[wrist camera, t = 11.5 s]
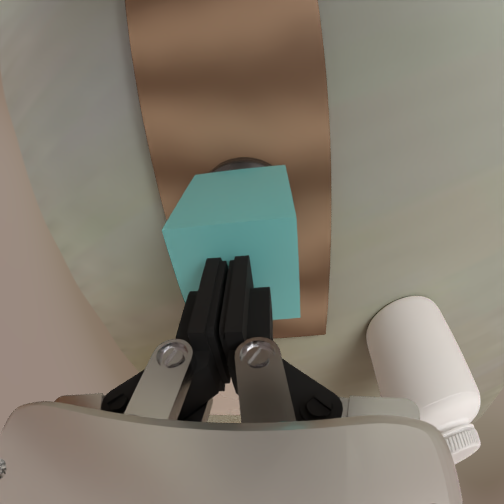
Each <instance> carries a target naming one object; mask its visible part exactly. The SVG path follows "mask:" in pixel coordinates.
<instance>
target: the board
mask: <svg viewBox="0 0 504 504" xmlns="http://www.w3.org/2000/svg"><path fill="white" fill-rule="evenodd" d="M125 6H126V15H127V24H128V32H129V39H130V46H131V53H132V60H133V66H134V73H135V79H136V85H137V90H138V96H139V101H140V107H141V112H142V117H143V122H144V127H145V132H146V137H147V141H148V146H149V151H150V155H151V160H152V164H153V168H154V173H155V177H156V181H157V185H158V189H159V193H160V197H161V201H162V205H163V209H164V213H165V217H166V220H168V219H169V217H170V215H171V213H172V212H173V210H174V208H175V207H176V205H177V203H178V202H179V200H180V198H181V197H182V195H183V193H184V192H185V190H186V189H187V187H188V185H189V184H190V182H191V181H192V179H193V177H194V176H195V175H198V174H205V173H209V172H210V171H211V170H212V169H213V168H214V167H216V166H217V165H219V164H220V163H222V162H224V161H226V160H229V159H233V158H238V157H251V158H256V159H260V160H263V161H265V162H267V163H269V164H271V165H273V166H278V165H285V166H286V171H287V175H288V180H289V184H290V189H291V192H292V196H293V202H294V208H295V212H296V218H297V236H298V257H299V283H300V318H291V319H278V320H273V338H287V337H301V336H313V335H324V334H326V323H327V309H328V293H329V274H330V247H331V152H330V127H329V108H328V93H327V80H326V68H325V57H324V48H323V38H322V30H321V22H320V14H319V7H318V0H125Z"/></svg>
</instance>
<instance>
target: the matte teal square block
mask: <svg viewBox="0 0 504 504" xmlns="http://www.w3.org/2000/svg"><path fill="white" fill-rule="evenodd" d="M162 233H163V236H164V240H165V243H166V246H167V250H168V253H169V256H170V259H171V262H172V266H173V269H174V272H175V275H176V278H177V281H178V284H179V287H180V290H181V293H182V296H183V299H184V302H185V303H186V300H187V296H188V294H189V292H190V291H198V289H199V285H200V281H201V277H202V274H203V270H204V266H205V263H206V259H207V258H218V257H221V259H222V261H227V265H228V268H229V262H230V260H234V258H235V256H245V255H249V257H250V264H251V271H252V278H253V285H254V288H258V287H270V291H271V301H272V317H273V320H278V319H291V318H300V283H299V257H298V236H297V218H296V212H295V208H294V203H293V198H292V193H291V189H290V184H289V180H288V175H287V171H286V166H285V165H278V166H267V167H256V168H247V169H237V170H229V171H221V172H213V173H205V174H198V175H195V176H194V177H193V179H192V181H191V182H190V184H189V185H188V187H187V189H186V190H185V192H184V193H183V195H182V197H181V198H180V200H179V202H178V203H177V205H176V207H175V208H174V210H173V212H172V213H171V215H170V217H169V219H168V220H167V222H166V224H165V225H164V227H163V229H162Z"/></svg>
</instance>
